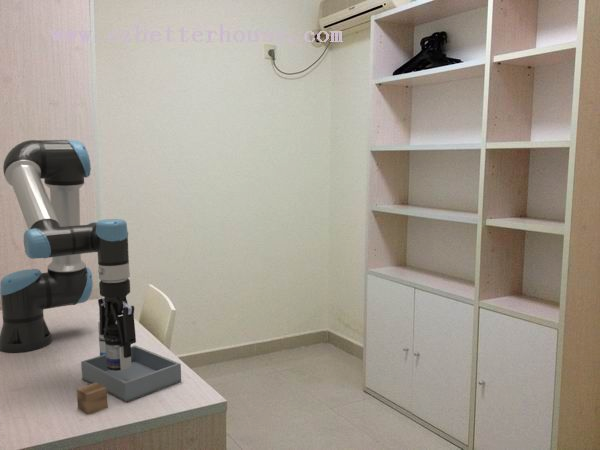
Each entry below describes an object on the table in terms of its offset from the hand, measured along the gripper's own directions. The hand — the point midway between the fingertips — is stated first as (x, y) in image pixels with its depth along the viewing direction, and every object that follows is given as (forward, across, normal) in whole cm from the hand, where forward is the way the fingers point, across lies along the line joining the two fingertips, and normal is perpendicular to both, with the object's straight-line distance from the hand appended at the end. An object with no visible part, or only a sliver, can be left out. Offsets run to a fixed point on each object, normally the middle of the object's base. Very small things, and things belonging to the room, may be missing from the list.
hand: (118, 365), depth 148 cm
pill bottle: (+1, 0, 0) cm, 1 cm away
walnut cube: (+6, +7, -12) cm, 14 cm away
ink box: (+6, -20, +10) cm, 23 cm away
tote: (+5, 0, +4) cm, 6 cm away
